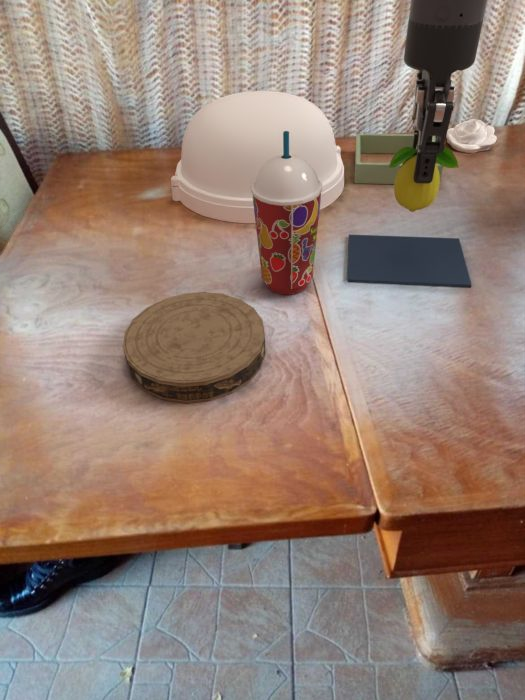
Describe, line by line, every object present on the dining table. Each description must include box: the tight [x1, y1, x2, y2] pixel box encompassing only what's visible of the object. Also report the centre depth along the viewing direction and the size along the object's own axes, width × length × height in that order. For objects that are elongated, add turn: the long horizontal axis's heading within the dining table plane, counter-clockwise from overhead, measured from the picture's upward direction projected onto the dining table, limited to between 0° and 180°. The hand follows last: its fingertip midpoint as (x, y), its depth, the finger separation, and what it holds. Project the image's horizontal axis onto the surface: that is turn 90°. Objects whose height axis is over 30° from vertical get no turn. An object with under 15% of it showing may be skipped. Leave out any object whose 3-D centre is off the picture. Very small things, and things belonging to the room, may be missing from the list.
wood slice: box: [122, 291, 266, 404], centre depth 61 cm, size 16×16×3 cm
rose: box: [446, 118, 498, 154], centre depth 105 cm, size 10×4×10 cm
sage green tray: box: [353, 133, 444, 185], centre depth 98 cm, size 15×15×4 cm
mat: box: [346, 234, 472, 288], centre depth 75 cm, size 16×12×1 cm
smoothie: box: [251, 131, 322, 295], centre depth 66 cm, size 8×8×20 cm
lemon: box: [388, 145, 459, 213], centre depth 67 cm, size 7×6×10 cm
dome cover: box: [170, 90, 345, 224], centre depth 92 cm, size 32×30×14 cm
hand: (420, 172), depth 67 cm, fingers closed on lemon, 4 cm apart
